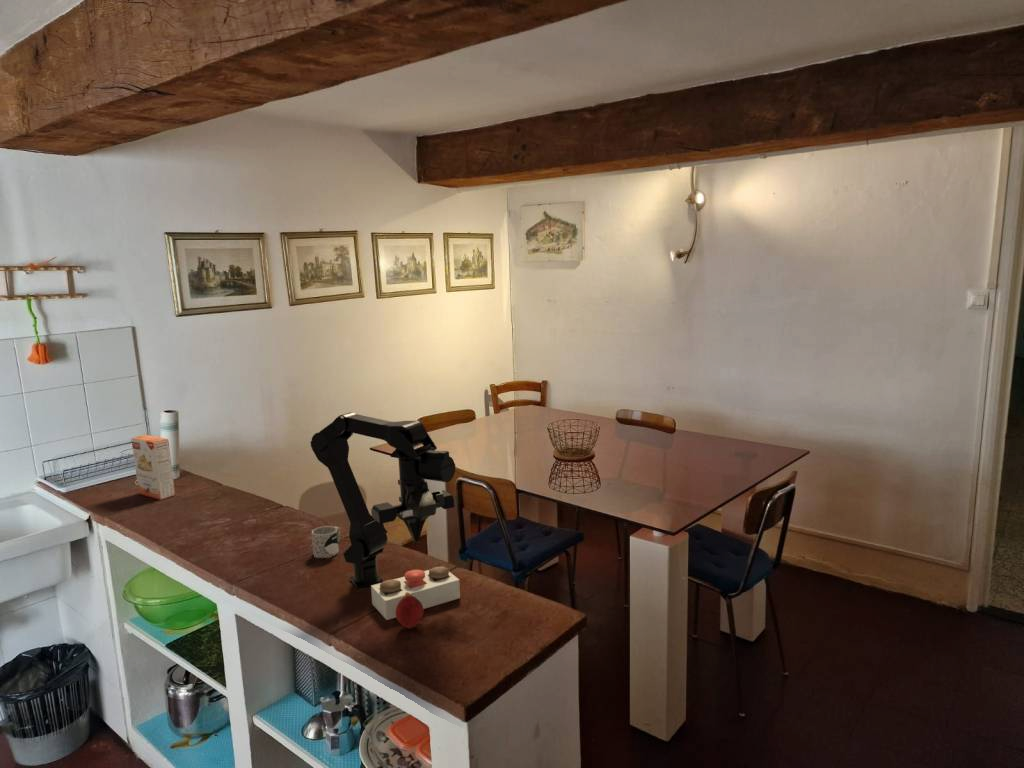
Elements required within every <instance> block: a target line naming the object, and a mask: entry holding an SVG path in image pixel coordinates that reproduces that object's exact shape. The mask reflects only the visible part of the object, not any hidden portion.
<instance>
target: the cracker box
mask: <svg viewBox="0 0 1024 768" xmlns="http://www.w3.org/2000/svg"><path fill="white" fill-rule="evenodd" d="M130 439H131V445H132V453H133V460H134V468H135V474H136V475H135V476H136V483H137V488H138V489H137V491H138V494H139V495H142V496H146V497H148V498H153V499H156V500H160V501H162V500H165V499H168V498H171V497H174V496H176V491H175V482H174V475H173V466H172V458H171V451H170V443H169V438H166V437H165V438H164V437H160V436H155V435H150V434H144V435H143V434H142V435H138V436H134V437H131V438H130Z"/></svg>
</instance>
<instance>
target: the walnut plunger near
mask: <svg viewBox="0 0 1024 768" xmlns="http://www.w3.org/2000/svg"><path fill="white" fill-rule="evenodd" d="M380 583H381V584H380V590H381V591H383V592H384V595H385V596H386V595H389V594H393V593H396V592H398V590H399V589H400V588H401V582H400V581H398V580H394V579H387V580H383V582H380Z"/></svg>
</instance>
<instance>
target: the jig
mask: <svg viewBox="0 0 1024 768" xmlns="http://www.w3.org/2000/svg"><path fill="white" fill-rule="evenodd" d="M440 567H444V566H443V565H442V566H440ZM429 570H430V569H427V570H423V571H424V572H425V578H424V579H423V580H422V585H421V586H417V587H414V588H409V581H407V580H405V576H401V577H398V578H394V579H393V580H398V581H400V582H401V588H400V589H399V590H398V592H396V593H393V594H389V595H386V596H385V595H384V592H383V591H381V590H380V584H381V583H382V582H380V583H377V584H373V585H370V592H371V604H372V606H373V607H374V608H375V609H376V610H377V611H378V612H379V613H380V615H381V616H382V617H383V618H384V619H385V621H389V620H392V619H395V618H396V614H395V613H396V607H397V605H398V603H399V602H400V600H401V599H402V598H404V597H405V593H407V592H408V593H409V594H410V595H412V596H414V597H416V598H417V599H418V600H419V601H420V602H421V604H422V606H423V610H425V609H428V608H431V607H434V606H438V605H441V604H445V603H448V602H450V601H454V600H458V599H460V598H461V589H460V578H458V577H457V576H455V575H454V574H453V573H452V572H450V571H449V574H448V576H446V579H442V580H439V581H433V578H432V577H430V576H429Z"/></svg>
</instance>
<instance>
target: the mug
mask: <svg viewBox="0 0 1024 768" xmlns="http://www.w3.org/2000/svg"><path fill="white" fill-rule="evenodd" d="M340 541H341V533H340V527H338V526H332V525H331V526H330V525H329V526H328V525H324V526H320V527H319V526H318V527H316V528H315V529H312V530H311V543H312V553H313V554H312V555H314V556H313V557H314V558H315V557H316V558H315V559H318V558H322V559H321V560H324V559H323V558H326V559H330V557H331V558H333V557H332V556H334V557H336V556H337V555H338V554H339V553H338V552H339V542H340ZM336 554H337V555H336ZM335 555H336V556H335Z"/></svg>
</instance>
